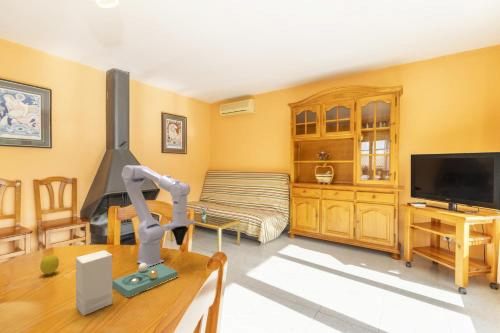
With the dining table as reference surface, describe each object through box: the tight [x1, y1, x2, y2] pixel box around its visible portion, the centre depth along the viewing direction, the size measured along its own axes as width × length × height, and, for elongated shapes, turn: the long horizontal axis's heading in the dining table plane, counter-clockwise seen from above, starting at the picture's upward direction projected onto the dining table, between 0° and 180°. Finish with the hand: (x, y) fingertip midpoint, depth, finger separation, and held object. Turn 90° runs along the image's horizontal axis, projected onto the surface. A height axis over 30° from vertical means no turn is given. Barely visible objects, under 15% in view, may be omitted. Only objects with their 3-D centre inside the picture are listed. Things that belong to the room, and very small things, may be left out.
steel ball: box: [130, 278, 139, 283], centre depth 87 cm, size 3×3×3 cm
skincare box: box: [75, 249, 113, 317], centre depth 75 cm, size 8×7×16 cm
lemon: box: [39, 253, 60, 275], centre depth 95 cm, size 6×6×8 cm
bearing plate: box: [112, 263, 179, 298], centre depth 90 cm, size 19×11×2 cm, turn 143°
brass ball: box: [148, 270, 158, 279], centre depth 88 cm, size 3×3×3 cm
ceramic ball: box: [138, 263, 149, 272], centre depth 94 cm, size 3×3×3 cm
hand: (179, 244), depth 103 cm, fingers closed
